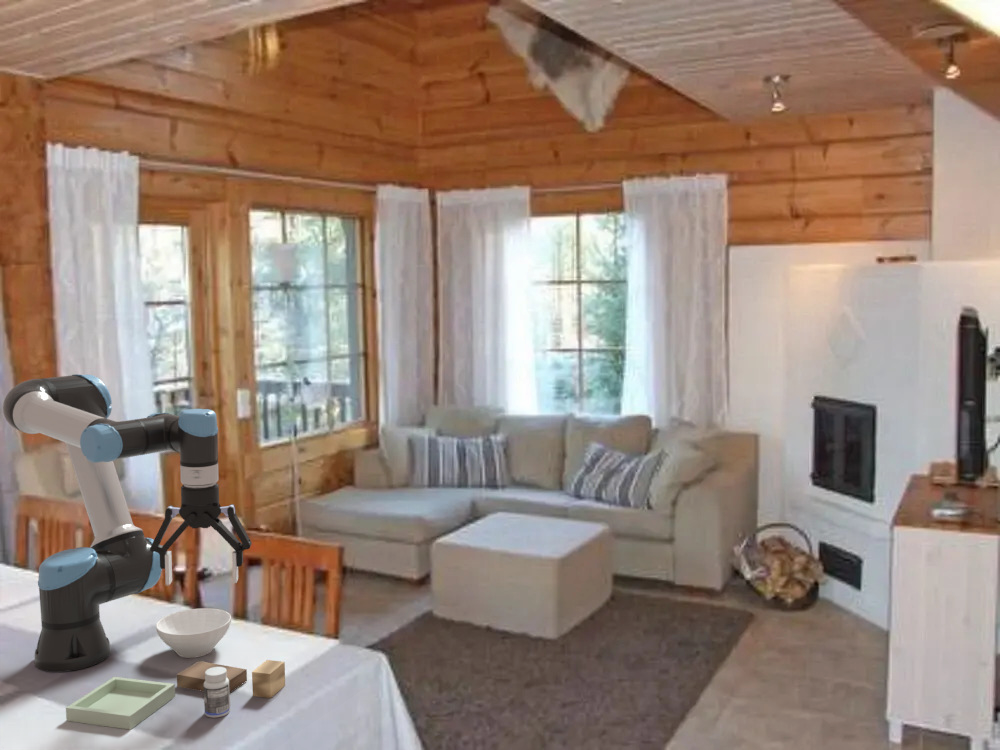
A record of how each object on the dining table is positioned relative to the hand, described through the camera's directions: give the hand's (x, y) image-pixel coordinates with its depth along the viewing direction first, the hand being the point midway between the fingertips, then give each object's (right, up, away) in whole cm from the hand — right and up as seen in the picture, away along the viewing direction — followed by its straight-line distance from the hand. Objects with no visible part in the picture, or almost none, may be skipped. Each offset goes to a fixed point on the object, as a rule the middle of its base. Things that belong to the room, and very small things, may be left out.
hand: (202, 582), depth 197 cm
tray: (-11, -21, -15) cm, 28 cm away
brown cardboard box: (+4, -20, -5) cm, 21 cm away
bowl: (-5, -18, +12) cm, 23 cm away
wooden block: (+16, -20, -8) cm, 27 cm away
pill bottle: (+8, -21, -17) cm, 29 cm away
